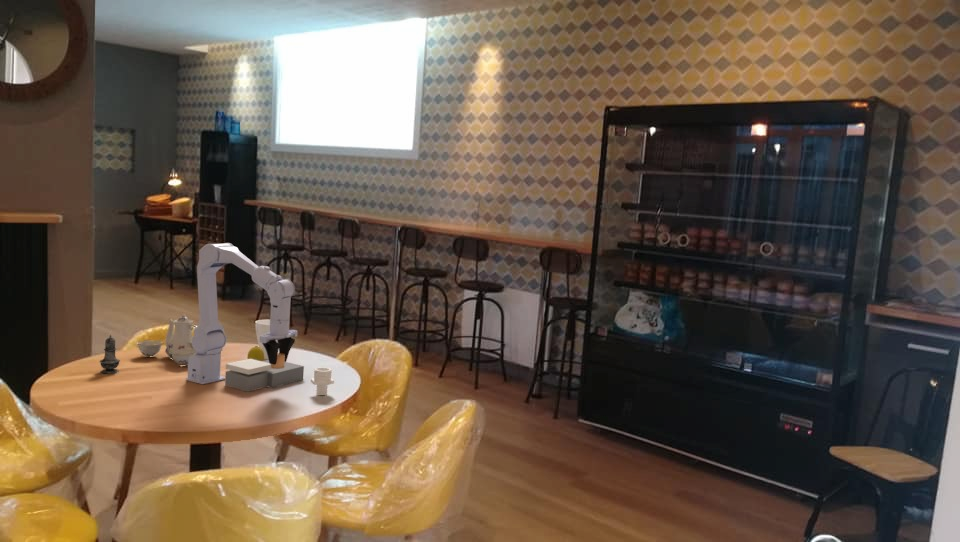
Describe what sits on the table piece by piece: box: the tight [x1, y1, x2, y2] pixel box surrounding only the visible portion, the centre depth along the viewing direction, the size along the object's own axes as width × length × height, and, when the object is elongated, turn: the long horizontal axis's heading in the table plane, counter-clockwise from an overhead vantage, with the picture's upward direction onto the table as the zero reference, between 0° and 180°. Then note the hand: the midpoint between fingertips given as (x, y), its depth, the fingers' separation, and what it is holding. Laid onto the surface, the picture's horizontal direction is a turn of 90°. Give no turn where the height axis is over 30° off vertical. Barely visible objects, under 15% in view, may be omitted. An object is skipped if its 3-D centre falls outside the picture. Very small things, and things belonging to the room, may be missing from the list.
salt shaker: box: [99, 335, 121, 375], centre depth 226 cm, size 6×6×12 cm
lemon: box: [246, 345, 265, 361], centre depth 243 cm, size 6×6×8 cm
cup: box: [254, 318, 278, 361], centre depth 259 cm, size 10×10×14 cm
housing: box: [224, 360, 305, 392], centre depth 228 cm, size 22×14×4 cm, turn 151°
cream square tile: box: [225, 358, 273, 375], centre depth 223 cm, size 10×10×2 cm
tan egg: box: [271, 352, 285, 369], centre depth 217 cm, size 4×4×4 cm
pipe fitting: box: [310, 366, 335, 396], centre depth 219 cm, size 6×7×8 cm
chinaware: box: [136, 312, 197, 365], centre depth 247 cm, size 28×17×17 cm, turn 67°
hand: (277, 362), depth 217 cm, fingers closed on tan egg, 4 cm apart
